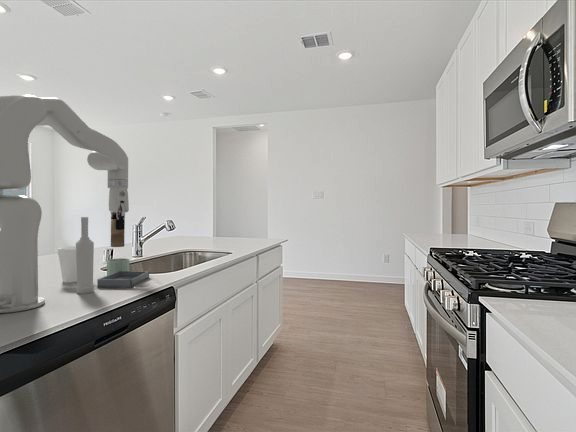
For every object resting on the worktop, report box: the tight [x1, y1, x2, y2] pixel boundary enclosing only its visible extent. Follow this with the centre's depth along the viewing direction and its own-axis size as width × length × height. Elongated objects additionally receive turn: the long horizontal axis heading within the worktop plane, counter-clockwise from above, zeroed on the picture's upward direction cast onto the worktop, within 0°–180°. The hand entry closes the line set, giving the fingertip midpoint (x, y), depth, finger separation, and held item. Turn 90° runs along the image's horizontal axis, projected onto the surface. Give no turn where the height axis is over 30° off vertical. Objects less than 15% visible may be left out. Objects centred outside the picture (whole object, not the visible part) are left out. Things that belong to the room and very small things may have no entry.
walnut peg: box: [110, 218, 125, 248], centre depth 138 cm, size 5×5×11 cm
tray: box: [96, 270, 150, 289], centre depth 126 cm, size 15×12×3 cm
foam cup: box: [57, 245, 77, 283], centre depth 127 cm, size 10×9×13 cm
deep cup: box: [106, 257, 131, 276], centre depth 139 cm, size 8×8×6 cm
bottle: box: [75, 216, 95, 295], centre depth 113 cm, size 5×5×25 cm
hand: (117, 228), depth 138 cm, fingers closed on walnut peg, 5 cm apart
